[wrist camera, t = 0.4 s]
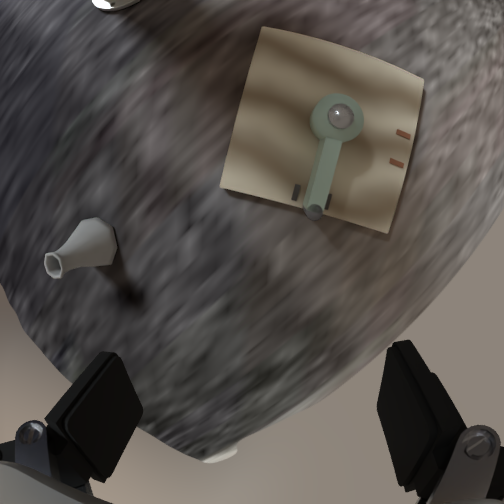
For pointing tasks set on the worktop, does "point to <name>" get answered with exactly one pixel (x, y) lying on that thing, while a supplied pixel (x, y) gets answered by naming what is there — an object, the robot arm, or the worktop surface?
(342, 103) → the lock lever
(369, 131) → the lock base
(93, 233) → the flask
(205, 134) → the worktop surface
